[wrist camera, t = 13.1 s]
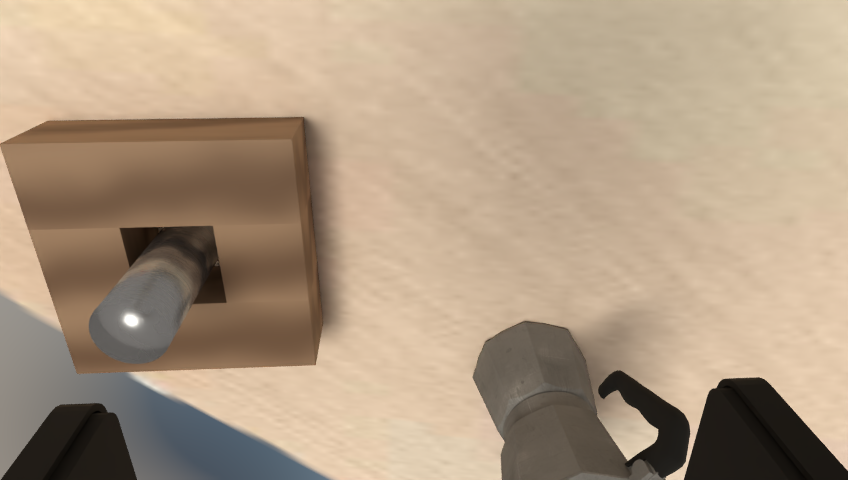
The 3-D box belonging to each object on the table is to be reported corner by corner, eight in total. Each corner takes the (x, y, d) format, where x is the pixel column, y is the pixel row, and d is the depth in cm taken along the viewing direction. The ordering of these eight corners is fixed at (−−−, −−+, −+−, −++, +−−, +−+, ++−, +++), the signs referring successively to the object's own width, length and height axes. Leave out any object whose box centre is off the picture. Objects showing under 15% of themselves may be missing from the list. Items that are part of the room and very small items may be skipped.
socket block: (47, 120, 36) (-1, 144, 32) (303, 117, 37) (291, 139, 32) (109, 330, 43) (77, 373, 39) (322, 323, 44) (315, 364, 40)
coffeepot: (518, 439, 51) (580, 664, 35) (434, 393, 48) (457, 615, 32) (644, 319, 46) (784, 516, 30) (558, 259, 43) (661, 442, 27)
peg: (163, 206, 39) (79, 300, 28) (223, 205, 39) (161, 298, 29) (175, 258, 41) (99, 365, 30) (232, 256, 41) (177, 362, 30)
